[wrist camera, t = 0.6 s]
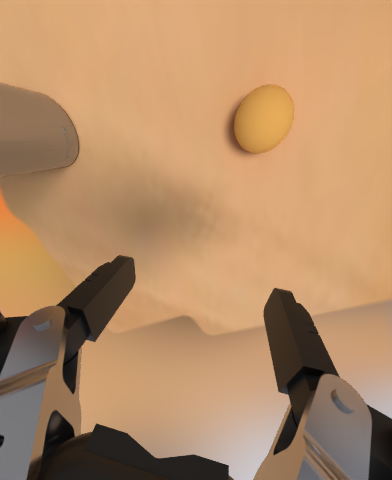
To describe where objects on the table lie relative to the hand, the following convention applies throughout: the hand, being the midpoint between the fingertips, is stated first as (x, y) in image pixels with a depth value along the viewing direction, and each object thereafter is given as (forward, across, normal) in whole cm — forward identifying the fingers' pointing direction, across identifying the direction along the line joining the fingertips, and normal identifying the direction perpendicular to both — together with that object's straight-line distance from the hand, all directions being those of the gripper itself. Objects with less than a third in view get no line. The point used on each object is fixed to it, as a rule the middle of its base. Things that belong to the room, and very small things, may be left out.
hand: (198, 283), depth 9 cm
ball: (+16, -3, -10) cm, 19 cm away
